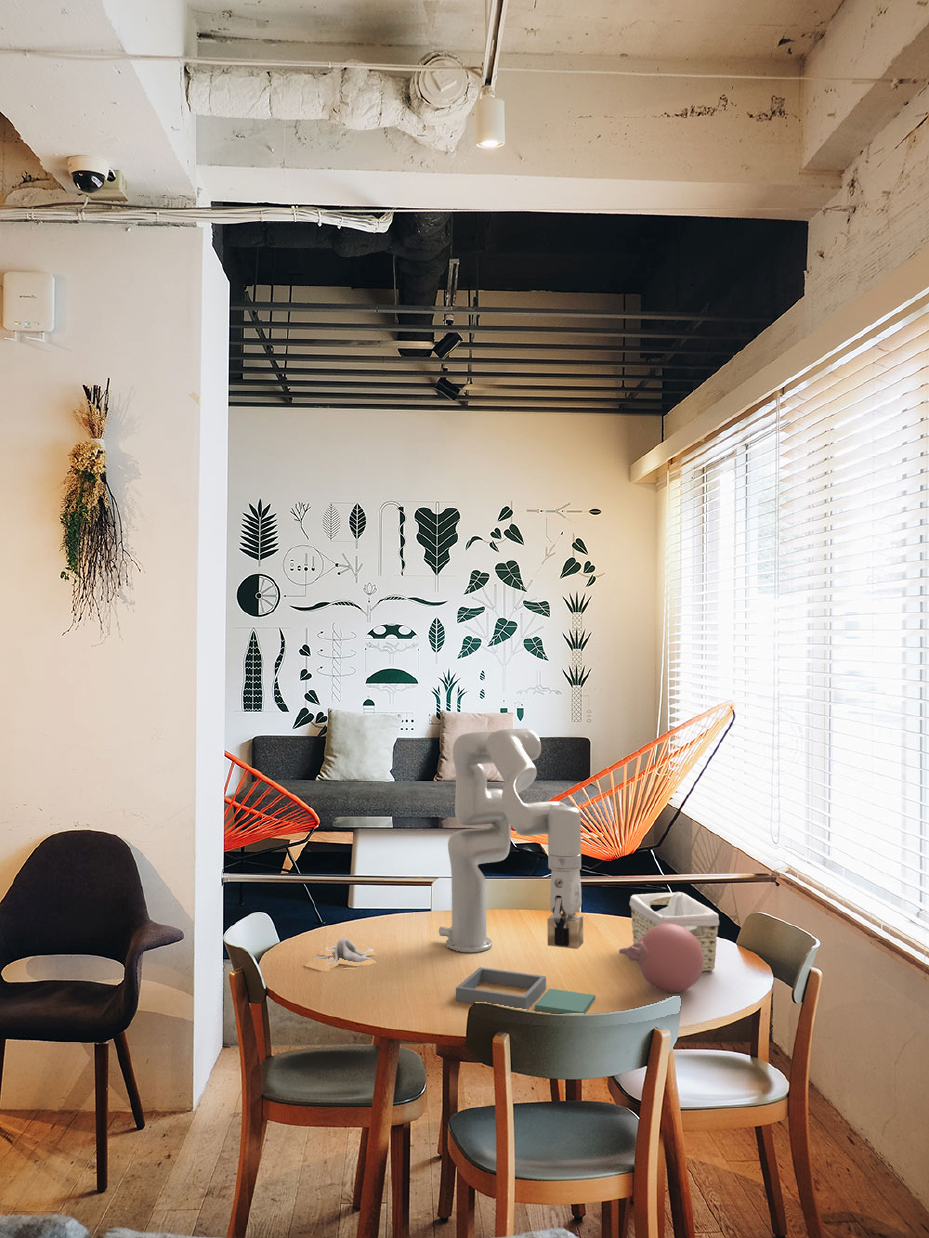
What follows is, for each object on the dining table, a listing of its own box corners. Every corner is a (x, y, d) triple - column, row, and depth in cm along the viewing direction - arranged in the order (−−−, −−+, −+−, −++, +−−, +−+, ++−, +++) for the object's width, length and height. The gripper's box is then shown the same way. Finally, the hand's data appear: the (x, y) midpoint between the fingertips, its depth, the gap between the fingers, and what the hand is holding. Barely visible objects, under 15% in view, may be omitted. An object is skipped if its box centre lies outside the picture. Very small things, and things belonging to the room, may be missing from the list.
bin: (456, 1000, 211) (455, 987, 211) (479, 979, 225) (479, 967, 225) (525, 1011, 205) (525, 997, 205) (546, 989, 218) (546, 976, 219)
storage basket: (627, 947, 250) (627, 892, 251) (684, 944, 253) (683, 890, 253) (661, 977, 226) (660, 917, 227) (722, 973, 229) (721, 914, 230)
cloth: (298, 974, 231) (298, 949, 231) (311, 951, 249) (311, 928, 249) (386, 974, 230) (386, 950, 231) (393, 951, 249) (393, 928, 249)
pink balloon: (613, 979, 225) (612, 915, 226) (694, 978, 225) (693, 915, 226) (624, 1002, 210) (624, 934, 210) (711, 1002, 210) (710, 934, 211)
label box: (577, 948, 206) (577, 921, 206) (547, 945, 208) (547, 917, 209) (583, 942, 210) (583, 915, 211) (554, 939, 213) (553, 912, 213)
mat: (535, 1009, 206) (535, 1004, 206) (549, 992, 216) (549, 988, 216) (582, 1016, 202) (582, 1011, 202) (595, 999, 212) (595, 994, 212)
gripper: (570, 870, 201) (571, 954, 200) (590, 855, 217) (591, 933, 216) (537, 867, 204) (538, 950, 203) (559, 852, 220) (560, 929, 219)
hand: (565, 940), depth 209 cm, fingers closed on label box, 5 cm apart
